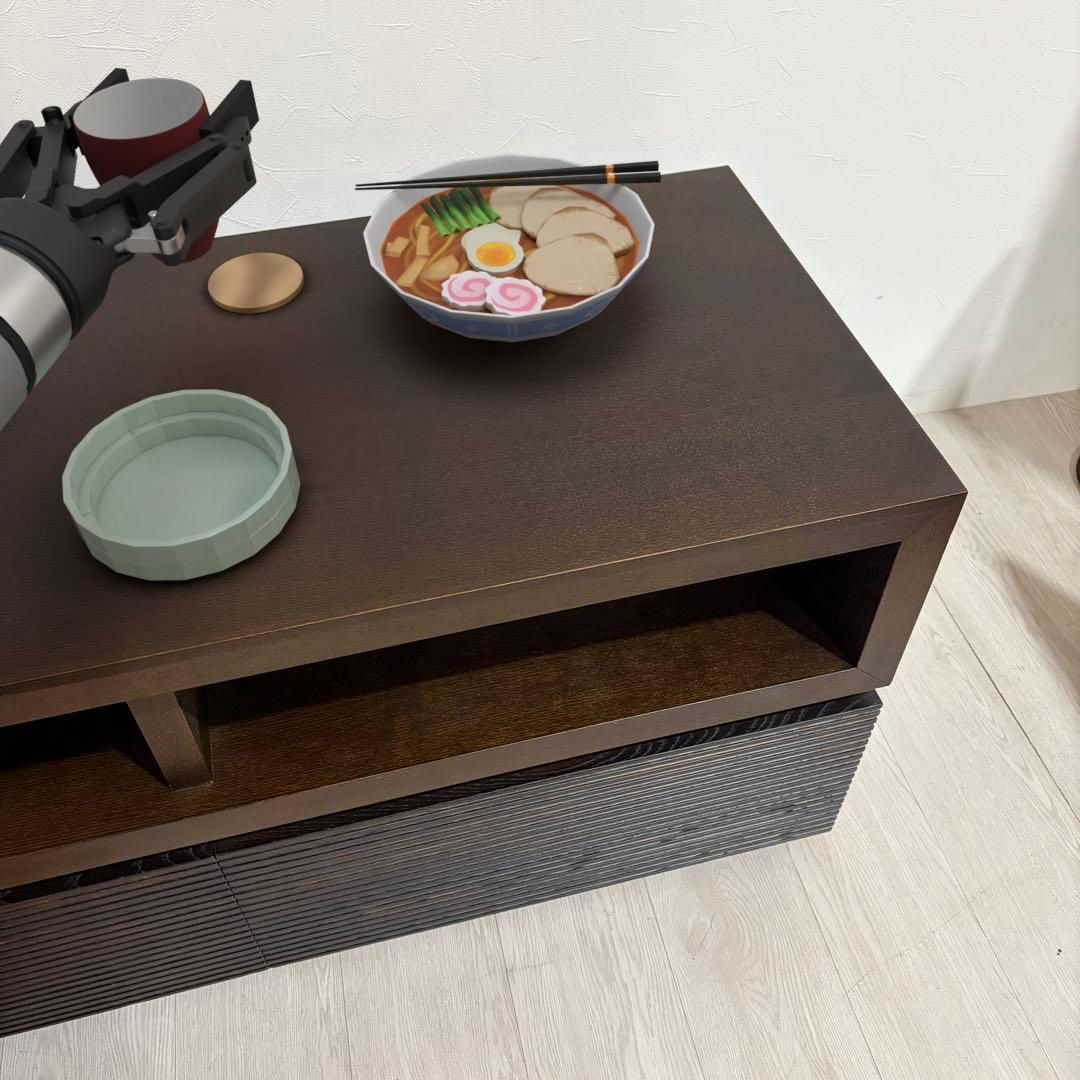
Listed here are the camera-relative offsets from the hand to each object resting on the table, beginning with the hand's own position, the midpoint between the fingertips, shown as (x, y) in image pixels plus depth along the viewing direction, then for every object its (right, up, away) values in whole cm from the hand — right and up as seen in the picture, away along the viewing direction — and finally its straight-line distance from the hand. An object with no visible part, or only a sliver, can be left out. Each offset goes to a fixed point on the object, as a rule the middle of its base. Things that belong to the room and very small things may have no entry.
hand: (187, 94), depth 73 cm
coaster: (-1, -8, +21) cm, 22 cm away
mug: (-1, -9, +3) cm, 9 cm away
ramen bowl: (+21, -10, +19) cm, 30 cm away
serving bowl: (-1, -27, +4) cm, 27 cm away
